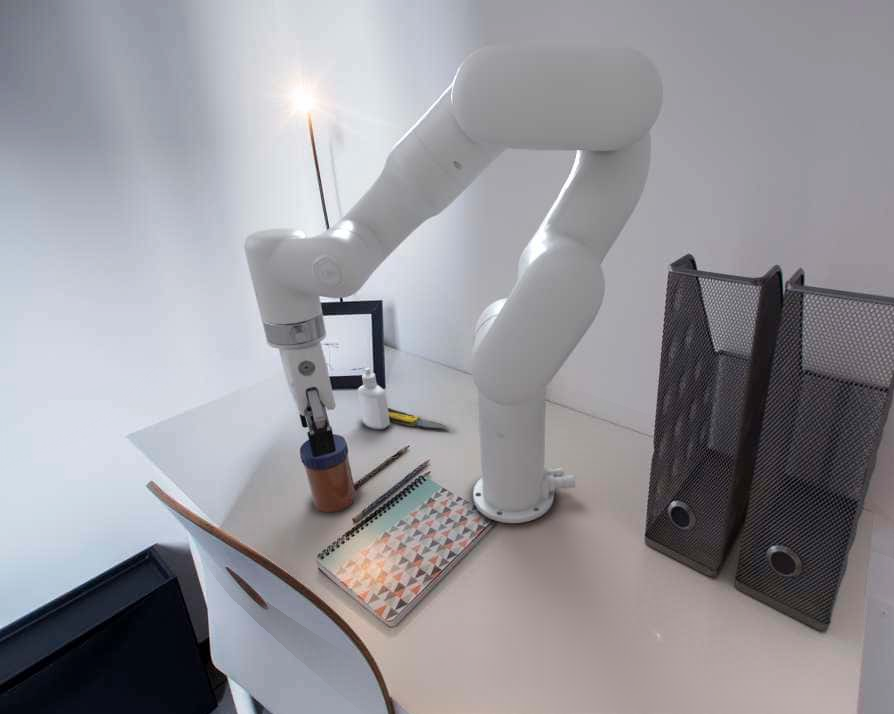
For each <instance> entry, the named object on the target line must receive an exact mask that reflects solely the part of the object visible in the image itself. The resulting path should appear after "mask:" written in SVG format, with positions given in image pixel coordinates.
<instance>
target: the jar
mask: <svg viewBox="0 0 894 714" xmlns="http://www.w3.org/2000/svg"><path fill="white" fill-rule="evenodd" d="M304 469H305V473H306V477H307V481H308V486H309V489H310V493H311V497H312V501H313V504H314V507H315V509H317V510H318V511H320V512H325V513H335V512H340V511H342V510H344V509H346V508H348V507H349V506H350V505H352V504H353V502H355V500H356V497H357V493H356V489H355V483H354V478H353V475H352V468H351V464H350V459H349V455H348V456H347V457H346V459H345V460H344V461H342V462H341V463H340V464H338V465H336V466H334V467H331V468H327V469H310V468H308V467H306V466H304Z"/></svg>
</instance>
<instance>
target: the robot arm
mask: <svg viewBox="0 0 894 714" xmlns="http://www.w3.org/2000/svg"><path fill="white" fill-rule="evenodd" d="M663 99H664V88H663V81H662V78H661V74H660V72H659V69H658V68H657V67H656V65H655V63H654V62H653V61H652V60H651V58H650V57H648V56H647V55H646V54H644V53H643V52H641V51H640V50H637V49H635V48H632V47H628V46H623V45H622V46H621V45H520V44H489V45H485V46H482V47H480V48H478V49H476V50H474V51H473V52H471V53H470V54H469V55H468V56H467V57H466V58H465V59H464V60H463V62H461V64H460V66H459V67H458V69H457V71H456V74H455V76H454V79H453V82H452V83H451V84H450V85H449V86H448V87H447V88H446V89H445V91H444V92H443V93H442V94H441V95H440V96H439V98H438V99H437V100H436V101H435V102H434V104H432V105H431V106H430V108H429V109H428V110H427V111H426V112H425V113H424V114H423V115H422V116H421V118H419V120H418V121H417V122H416V123H414V125H413V126H412V127H411V128H410V129H409V130H407V132H406V134H404V135H403V137H402V138H401V139H400V140H398V142H396V144H395V145H394V146H393V148H392V149H391V151H390V152H389V153H388V155H387V158H386V160H385V162H384V167H383V169H382V171H381V172H380V174H379V176H378V177H377V178H376V180H375V181H374V182H373V184H372V185H371V186H370V187H369V188H368V189H367V191H366V192H365V193H364V194H363V195H362V196H361V198H360V199H358V201H357V202H356V203H355V204H354V205H353V206H352V207H351V208H350V209H349V210H348V212H346V213H345V214H344V216H342V218H341V219H339V220H338V221H337V222H336V224H334V225H332V226H331V227H329V228H327V229H326V230H325V231H324V232H321V233H319V234H316V235H314V236H310V237H308V236H307V235H306V234H305V233H304V232H302V231H301V230H299V229H295V228H289V227H288V228H287V227H286V228H284V227H283V228H282V227H281V228H280V227H279V228H270V229H263V230H258V231H255V232H252V233H251V234H249V235H247V237H246V238H245V240H244V246H243V247H244V254H245V257H246V262H247V266H248V271H249V274H250V278H251V282H252V286H253V290H254V294H255V299H256V303H257V306H258V311H259V314H260V318H261V323H262V328H263V332H264V335H265V339H266V343H267V345H268V346H269V347H271V348H274V349H278V352H279V357H280V361H281V364H282V368H283V371H284V375H285V378H286V382H287V385H288V389H289V391H290V393H291V396H292V399H293V401H294V404H295V406H296V408H297V411H298V414H299V418H300V422H301V426H302V428H303V429H306V428H307V429H308V431H307V432H306V433H307V437H308V440H309V442H310V447H311V451H312V455H313V457H318V456H322V455H326V454H329V453H333V452H335V451H336V448H335V442H334V437H333V434H334V432H333V427H332V426H331V424H330V420H329V417H328V413H327V411H331V410H332V411H333V410H335V409H336V407H337V406H336V405H337V404H336V401H335V397H334V392H333V387H332V384H331V383H332V382H331V379H330V373H329V369H328V365H327V359H326V356H325V353H324V349H323V345H322V343H321V342H323V340H324V339H325V338H326V337H327V330H326V325H325V324H326V323H325V319H324V314H323V309H322V303H321V297H322V298H328V299H329V298H330V299H343V298H348V297H351V296H353V295H355V294H356V293H357V292H359V291H360V290H361V289H362V288H363V286H364V285H365V284H366V283H367V281H368V280H369V278H370V277H371V276H372V275H373V274H374V273H375V271H377V269H378V268H379V267H380V266H381V265H382V263H383V262H384V261H385V260H386V259H387V258H388V257H389V256H391V255H392V254H393V252H394V251H395V250H396V249H397V248H398V247H399V246H400V245H402V243H403V242H404V241H405V240H406V239H407V238H408V237H409V236H410V235H411V234H413V232H414V231H416V229H418V228H419V227H420V226H422V224H424V223H425V222H426V221H427V220H430V219H431V218H433V217H435V216H438V215H439V214H441V213H442V212H443V211H444V210H445V209H447V208H448V207H450V205H452V204H453V202H454V201H455V200H456V199H457V198H458V197H459V196H460V195H461V194H462V193H463V192H464V191H465V190H466V189H467V188H468V187H469V186H470V185H471V184H472V183H473V182H474V181H475V180H476V179H477V178H479V176H480V175H481V174H482V173H483V172H484V171H485V170H486V169H487V168H488V167H489V166H491V165H492V164H493V162H494V161H495V160H497V158H499V157H500V156H501V155H502V154H503V153H504V152H505V151H506V150H507V149H509V150H511V149H512V150H513V149H514V150H524V151H525V150H529V151H576V154H575V155H576V156H575V160H574V163H573V166H572V169H571V171H570V174H569V176H568V178H567V180H566V181H565V183H564V185H563V187H561V190H560V192H559V194H558V196H557V198H556V200H555V201H554V203H553V204H552V206H551V207H550V209H549V211H548V212H547V214H546V215H545V217H544V219H543V220H542V222H541V224H540V225H539V227H538V228H537V230H536V231H535V233H534V234H533V236H532V238H531V239H530V241H529V242H528V243H527V245H526V246H525V247H524V248H523V251H521V255H520V257H519V260H518V265H517V281H516V283H515V285H514V286H513V288H512V290H511V292H510V293H509V295H508V297H504V298H501V299H498V300H496V301H494V302H492V303H490V304H489V305H488V306H487V307H486V308H484V310H483V311H482V313H480V316H479V318H478V320H477V321H476V325H475V329H474V334H473V339H472V348H471V349H472V350H471V356H470V372H471V377H472V380H473V382H474V385H475V387H476V389H477V405H478V425H479V428H478V429H479V444H480V462H481V463H480V464H481V477H480V478H479V479H478V480H477V482H476V484H474V487H473V491H472V499H473V502H474V506H475V507H476V509H477V511H479V512H480V513H481V514H482V515H483V516H485V517H487V518H488V519H491V520H494V521H496V522H500V523H505V524H521V523H527V522H530V521H533V520H536V519H538V518H540V517H542V516H543V515H545V514H546V513H547V512H548V511H549V510H550V509H551V507H552V505H553V503H554V500H555V499H554V498H555V492H556V490H557V489H558V490H559V489H571V488H572V489H573V488H576V479H575V476H574V475H573V474H568V475H564V469H563V467H557V468H552V469H548V467H545V453H546V451H545V450H546V449H545V448H546V447H545V446H546V413H547V412H546V409H547V407H546V406H547V403H546V402H547V387H548V385H549V384H550V383H551V381H552V380H553V379H554V378H555V376H556V375H557V374H558V372H559V371H560V369H561V368H562V367H563V365H564V364H565V362H566V361H567V360H568V358H569V357H570V355H571V354H573V351H574V350H575V348H576V347H577V346H578V345H579V343H580V341H581V340H582V338H583V337H584V336H585V334H586V333H587V331H588V330H589V329H590V327H591V326H592V324H593V323H594V321H595V319H596V318H597V315H598V314H599V311H600V309H601V306H602V304H603V301H604V297H605V290H606V289H605V288H606V280H605V275H604V270H603V268H602V263H603V262H604V259H605V258H606V256H607V254H608V253H609V251H610V250H611V249H612V247H613V245H614V244H615V243H616V241H617V239H618V238H619V236H620V234H621V232H622V231H623V229H624V227H625V226H626V224H627V223H628V221H629V219H630V218H631V216H632V215H633V212H634V211H635V209H636V207H637V205H638V204H639V201H640V199H641V197H642V194H643V192H644V189H645V186H646V184H647V180H648V177H649V170H650V164H651V153H652V151H651V150H652V141H651V129H652V128H653V127H654V125H655V123H656V122H657V120H658V117H659V115H660V113H661V109H662V105H663Z"/></svg>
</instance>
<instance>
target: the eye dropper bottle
mask: <svg viewBox="0 0 894 714" xmlns="http://www.w3.org/2000/svg"><path fill="white" fill-rule="evenodd" d="M364 371H365V372H364V373H363V374H362V376H361V380H362V385H361V386H359V387H358V388H357V396H358V403H359V408H360V413H361V419H362V422H363V424H364V425H365V426H367V427H368V428H371V429H374V430H384V429H386V428H388V427H389V426H390V424H391V421H390V420H389V414H388V408H389V407H388V402H387V396H386V392H385V390H384V388H382V387H381V386H380V385H379V384H378V383H377V377H376V373H374V372H371V368H369V367H366V368H365V369H364Z"/></svg>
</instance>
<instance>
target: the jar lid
mask: <svg viewBox="0 0 894 714" xmlns="http://www.w3.org/2000/svg"><path fill="white" fill-rule="evenodd" d="M333 437H334V442H335V448H336V451H335V452H333V453H329V454H326V455H322V456H318V457H313V455H312V451H311V447H310V442H309V439H307V440H306V441H304V442H303V443H302V444H301V446H300V448H299V454H300V459H301V463H302V464H303V466H304V467H305V466H306V467H308V468H310V469H327V468H331V467H334V466H336V465H338V464H340V463H341V462H342V461H344V460H345V459H346V457H347V456H348V457H349V455H348V454H349V448H348V444H347V441H346V439H345V438H344V437H343V435H339V434H336V433H333Z"/></svg>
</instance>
